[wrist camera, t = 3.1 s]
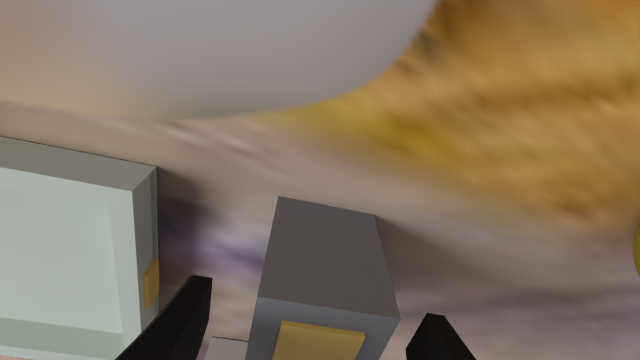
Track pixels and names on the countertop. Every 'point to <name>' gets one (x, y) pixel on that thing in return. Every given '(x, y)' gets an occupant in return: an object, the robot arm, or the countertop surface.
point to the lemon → (637, 250)
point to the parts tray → (75, 252)
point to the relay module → (322, 287)
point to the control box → (226, 349)
